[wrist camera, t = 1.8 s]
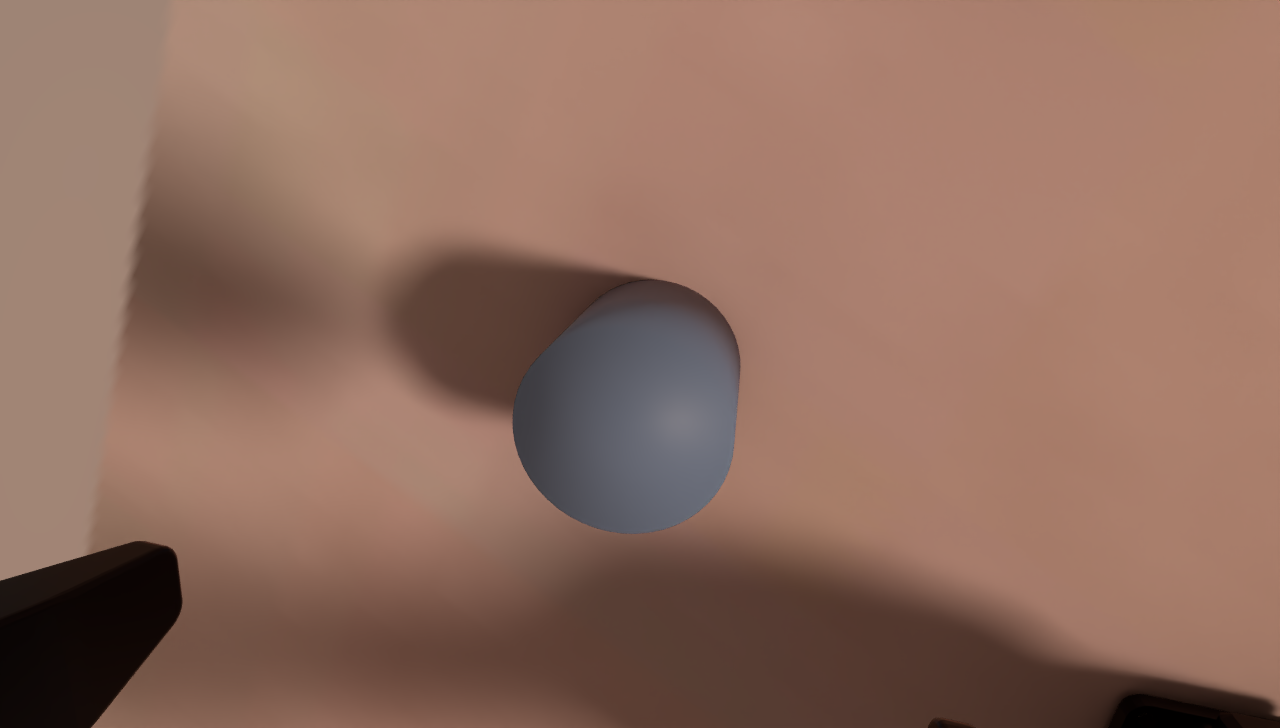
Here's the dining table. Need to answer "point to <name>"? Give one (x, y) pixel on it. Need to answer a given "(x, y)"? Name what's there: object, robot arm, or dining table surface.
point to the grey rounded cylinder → (632, 409)
